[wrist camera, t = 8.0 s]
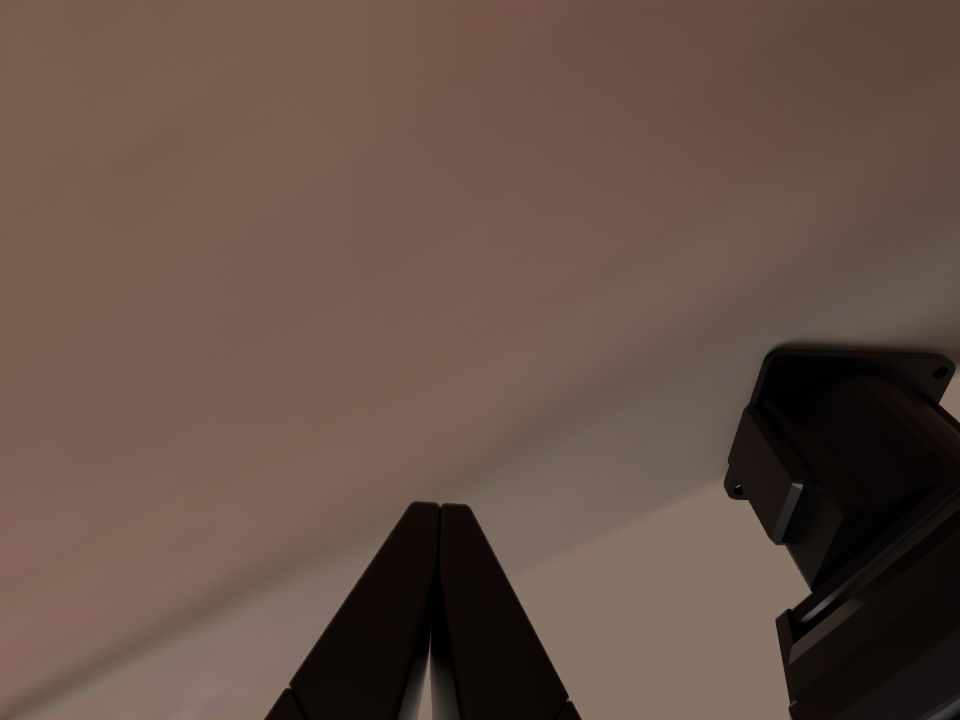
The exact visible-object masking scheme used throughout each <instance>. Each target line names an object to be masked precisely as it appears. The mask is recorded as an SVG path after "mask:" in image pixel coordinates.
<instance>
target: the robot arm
mask: <svg viewBox="0 0 960 720" xmlns="http://www.w3.org/2000/svg"><path fill="white" fill-rule="evenodd" d="M781 361H785V362H784V364H783V365H782V366H780V367H777V368H775V366H776V365H777V364H778V363H779V362H781ZM938 367H939V369H938V370H936V371H935V372H933V371H934V370H935V369H936V368H938ZM955 369H956V367H955V364H954V363H953V362H952V361H951V360H949V359H948V358H947V357H945V356H944V355H941V354H923V353H894V352H864V351H835V350H805V349H776V350H774V351H772V352H770V353H769V354H768V355H767V356H766V357H765V359H764V360H763V363H762V366H761V369H760V373H759V376H758V379H757V382H756V385H755V388H754V391H753V394H752V397H751V400H750V403H749V404H748V405H747V407H746V408H745V409H744V411H743V414H742V417H741V420H740V423H739V426H738V429H737V433H736V436H735V439H734V442H733V445H732V448H731V451H730V454H729V458H728V463H729V468H728V471H727V474H726V477H725V480H724V488H725V490H726V492H727V494H728V496H729V497H730V498H732V499H736V500H749V502H750V504H751V505H752V508H753V509H754V511H755V513H756V515H757V517H758V519H759V520H760V522H761V524H762V526H763V528H764V530H765V531H766V533H767V535H768V537H769V538H770V539H771V541H773V543H774V544H775V545H785V546H786V548H787V549H788V551H789V553H790V555H791V557H792V558H793V560H794V562H795V564H796V565H797V567H798V569H799V570H800V573H801V574H802V576H803V578H804V580H805V581H806V583H807V585H808V586H809V588H810V590H811V591H812V593H811V594H810V595H808V596H807V597H806V598H805V599H804V600H803V601H801V602H800V603H799V604H798V605H797V606H795V607H794V608H793V609H787V610H786V611H784V612H783V613H782V614H781V615H780V616H779V617H777V618H776V620H775V621H776V627H777V633H778V639H779V644H780V649H781V655H782V661H783V666H784V672H785V678H786V683H787V689H788V694H789V699H790V705H789V715H790V720H960V423H959V422H958V421H957V420H956V419H955V418H954V417H953V416H951V415H950V414H949V413H948V412H947V411H946V410H945V409H944V408H943V407H941V406H940V405H939V402H940V400H941V398H942V396H943V394H944V392H945V390H946V388H947V386H948V385H949V383H950V381H951V379H952V377H953V375H954V373H955ZM738 485H741V486H740V487H737V486H738ZM735 487H737V488H735ZM431 625H432V626H431ZM430 637H431V641H430ZM429 647H430V679H431V698H432V717H433V720H581V718H580V716H579V714H578V712H577V710H576V708H575V706H574V704H573V702H572V701H568V700H569V695H568V693H567V691H566V689H565V687H564V685H563V684H562V682H561V680H560V678H559V676H558V674H557V672H556V670H555V668H554V666H553V664H552V663H551V661H550V659H549V657H548V655H547V653H546V651H545V649H544V647H543V645H542V643H541V642H540V640H539V638H538V636H537V634H536V632H535V630H534V628H533V626H532V624H531V622H530V621H529V619H528V617H527V615H526V613H525V611H524V609H523V607H522V605H521V604H520V601H519V600H518V598H517V596H516V594H515V592H514V590H513V588H512V586H511V584H510V582H509V580H508V579H507V577H506V575H505V573H504V571H503V569H502V567H501V565H500V563H499V561H498V559H497V558H496V556H495V554H494V552H493V550H492V548H491V546H490V544H489V542H488V540H487V538H486V537H485V535H484V533H483V531H482V529H481V527H480V525H479V523H478V521H477V519H476V517H475V516H474V514H473V512H472V510H471V508H470V507H469V506H468V505H466V504H452V503H444V504H442V505H441V507H440V506H439V504H438V503H435V502H420V501H414V502H412V503H411V504H410V505H409V506H408V508H407V509H406V511H405V512H404V514H403V515H402V517H401V518H400V520H399V521H398V523H397V524H396V526H395V527H394V529H393V530H392V532H391V533H390V535H389V536H388V537H387V539H386V540H385V542H384V543H383V545H382V546H381V548H380V549H379V551H378V552H377V554H376V555H375V557H374V558H373V560H372V561H371V563H370V564H369V566H368V567H367V569H366V570H365V571H364V573H363V574H362V576H361V577H360V579H359V580H358V582H357V583H356V585H355V586H354V588H353V589H352V591H351V592H350V594H349V595H348V597H347V598H346V600H345V601H344V603H343V604H342V605H341V607H340V608H339V610H338V611H337V613H336V614H335V616H334V617H333V619H332V620H331V622H330V623H329V625H328V626H327V628H326V629H325V631H324V632H323V634H322V635H321V637H320V638H319V640H318V641H317V642H316V644H315V645H314V647H313V648H312V650H311V651H310V653H309V654H308V656H307V657H306V659H305V660H304V662H303V663H302V665H301V666H300V668H299V669H298V671H297V672H296V674H295V675H294V676H293V678H292V679H291V681H290V682H289V688H286V689H285V690H284V691H283V692H282V694H281V695H280V697H279V698H278V700H277V701H276V703H275V704H274V706H273V707H272V709H271V710H270V711H269V713H268V715H267V716H266V717H265V719H264V720H417V718H418V713H419V708H420V703H421V697H422V692H423V687H424V681H425V676H426V670H427V663H428V657H429Z"/></svg>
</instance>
